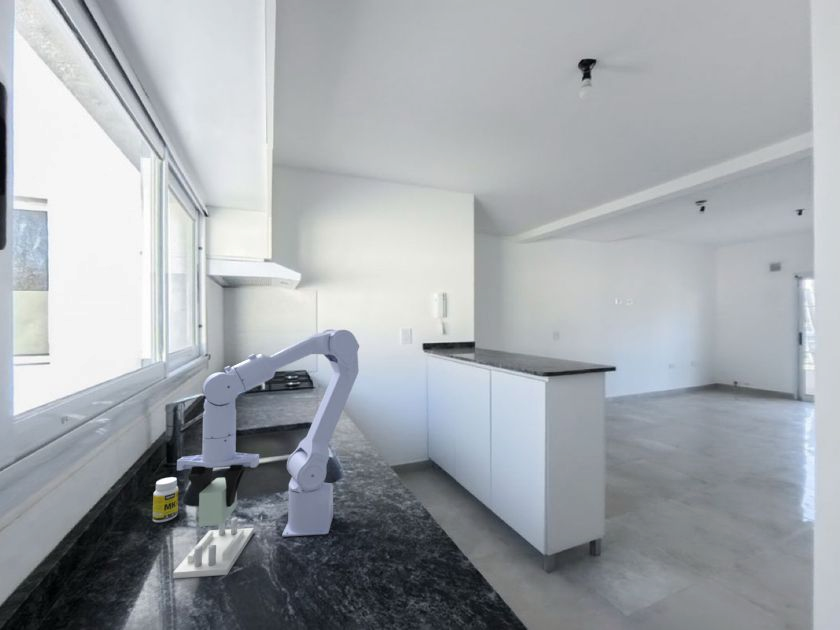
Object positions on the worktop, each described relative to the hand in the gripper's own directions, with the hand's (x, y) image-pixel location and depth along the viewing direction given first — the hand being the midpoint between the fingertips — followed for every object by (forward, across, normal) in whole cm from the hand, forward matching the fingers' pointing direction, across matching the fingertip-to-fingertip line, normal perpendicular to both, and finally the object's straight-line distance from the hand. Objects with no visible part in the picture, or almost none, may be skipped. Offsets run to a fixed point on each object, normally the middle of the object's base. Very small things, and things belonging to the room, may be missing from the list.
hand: (218, 504), depth 69 cm
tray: (+9, 0, 0) cm, 9 cm away
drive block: (+2, 0, 0) cm, 2 cm away
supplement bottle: (+10, +18, -15) cm, 25 cm away
